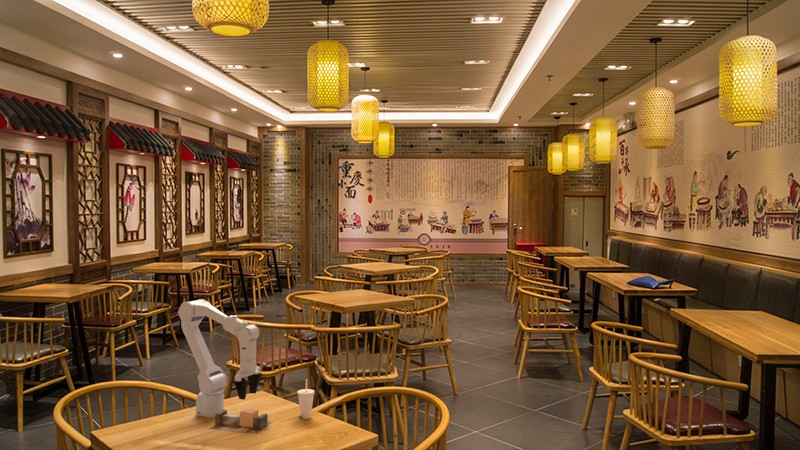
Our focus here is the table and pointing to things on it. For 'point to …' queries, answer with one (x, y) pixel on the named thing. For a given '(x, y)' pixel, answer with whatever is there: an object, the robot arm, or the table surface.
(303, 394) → the smoothie
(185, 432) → the table surface
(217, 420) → the rail board
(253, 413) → the sleeve
